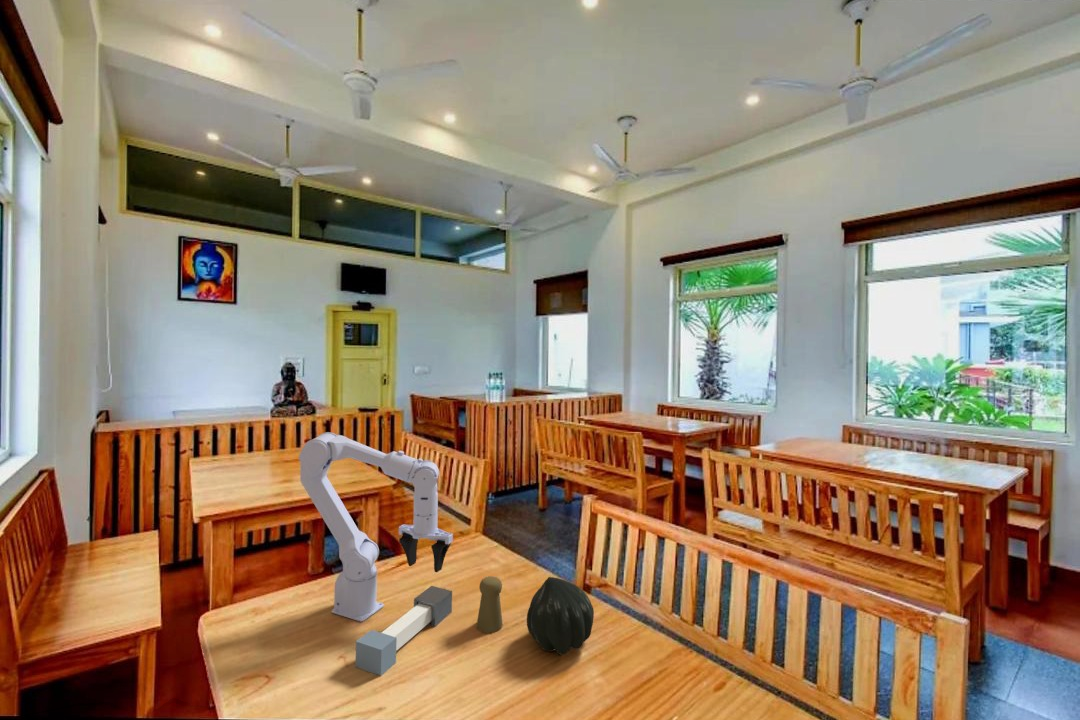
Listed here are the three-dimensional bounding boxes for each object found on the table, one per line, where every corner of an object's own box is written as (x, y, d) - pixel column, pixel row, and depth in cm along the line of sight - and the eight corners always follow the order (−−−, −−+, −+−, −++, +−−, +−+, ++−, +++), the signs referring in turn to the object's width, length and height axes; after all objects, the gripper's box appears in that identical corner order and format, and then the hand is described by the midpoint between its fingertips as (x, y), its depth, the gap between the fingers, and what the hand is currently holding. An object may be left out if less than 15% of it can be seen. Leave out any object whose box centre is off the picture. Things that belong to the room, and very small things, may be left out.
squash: (616, 628, 106) (585, 560, 114) (563, 656, 97) (532, 580, 105) (583, 646, 115) (556, 581, 123) (531, 672, 106) (505, 601, 114)
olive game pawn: (498, 634, 112) (499, 586, 112) (472, 630, 113) (474, 583, 113) (505, 620, 118) (507, 574, 118) (481, 616, 119) (482, 571, 119)
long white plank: (364, 661, 100) (365, 644, 100) (421, 615, 117) (422, 600, 117) (378, 666, 99) (378, 649, 98) (434, 618, 116) (434, 604, 116)
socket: (355, 666, 100) (355, 641, 99) (371, 654, 104) (371, 629, 104) (380, 676, 97) (381, 650, 97) (395, 662, 101) (396, 637, 101)
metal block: (413, 620, 117) (414, 598, 116) (431, 606, 123) (431, 585, 123) (434, 626, 114) (435, 604, 114) (451, 612, 121) (452, 591, 121)
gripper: (390, 513, 120) (390, 568, 120) (441, 522, 114) (440, 580, 115) (409, 504, 126) (408, 556, 127) (458, 513, 121) (457, 567, 121)
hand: (425, 567), depth 121 cm, fingers open, 7 cm apart
